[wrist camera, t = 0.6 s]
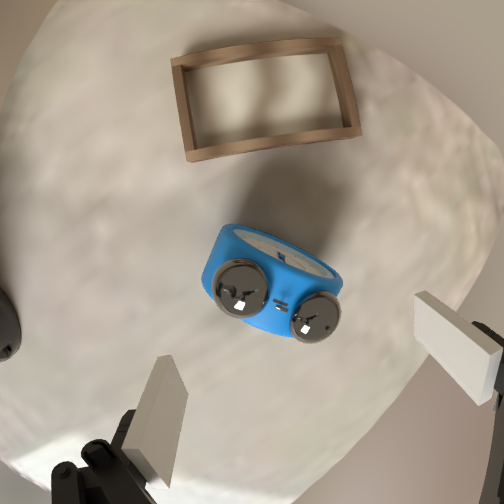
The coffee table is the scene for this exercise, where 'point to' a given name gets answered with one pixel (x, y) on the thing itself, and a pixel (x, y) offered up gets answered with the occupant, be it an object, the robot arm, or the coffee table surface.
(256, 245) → the alarm clock
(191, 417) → the coffee table surface
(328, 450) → the coffee table surface
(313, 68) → the open rectangular wooden box
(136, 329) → the coffee table surface
